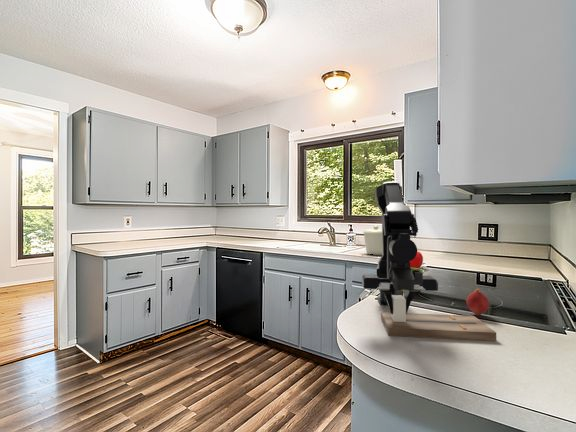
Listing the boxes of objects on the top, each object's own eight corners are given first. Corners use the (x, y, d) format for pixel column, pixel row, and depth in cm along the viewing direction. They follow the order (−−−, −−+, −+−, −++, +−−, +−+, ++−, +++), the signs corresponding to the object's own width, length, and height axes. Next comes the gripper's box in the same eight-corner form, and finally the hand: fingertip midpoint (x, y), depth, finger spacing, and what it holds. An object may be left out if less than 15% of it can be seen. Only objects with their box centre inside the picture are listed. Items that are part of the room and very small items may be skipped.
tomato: (407, 270, 161) (407, 251, 161) (397, 266, 174) (397, 248, 174) (428, 270, 162) (428, 250, 162) (417, 266, 174) (417, 248, 174)
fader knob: (391, 316, 85) (391, 294, 85) (402, 316, 85) (402, 295, 84) (393, 321, 81) (393, 299, 81) (405, 322, 81) (405, 299, 81)
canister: (381, 257, 210) (381, 226, 209) (358, 254, 222) (358, 225, 222) (393, 254, 223) (393, 225, 222) (370, 252, 235) (370, 224, 235)
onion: (462, 312, 95) (462, 286, 95) (479, 311, 95) (479, 286, 95) (474, 318, 89) (474, 291, 89) (493, 318, 89) (493, 290, 89)
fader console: (381, 319, 89) (381, 311, 89) (473, 323, 86) (473, 315, 86) (388, 335, 77) (388, 326, 77) (496, 340, 74) (496, 331, 74)
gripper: (365, 260, 76) (365, 323, 76) (446, 261, 73) (446, 326, 73) (361, 254, 87) (361, 309, 87) (431, 255, 84) (431, 311, 84)
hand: (398, 314), depth 83 cm, fingers closed on fader knob, 3 cm apart
